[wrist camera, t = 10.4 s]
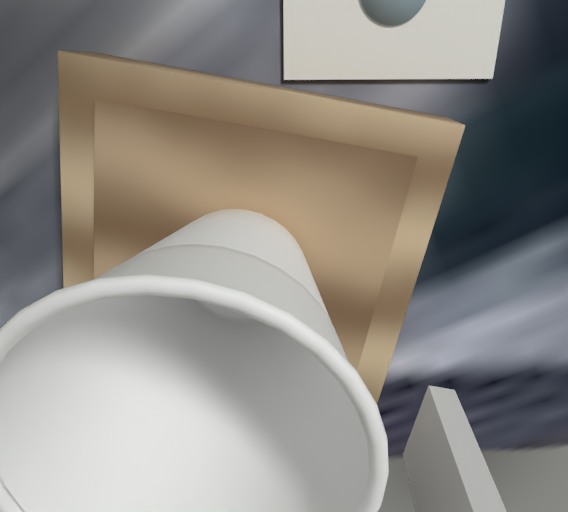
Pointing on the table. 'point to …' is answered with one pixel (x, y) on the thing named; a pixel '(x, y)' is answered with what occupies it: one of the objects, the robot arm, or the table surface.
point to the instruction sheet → (391, 39)
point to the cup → (188, 386)
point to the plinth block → (254, 181)
